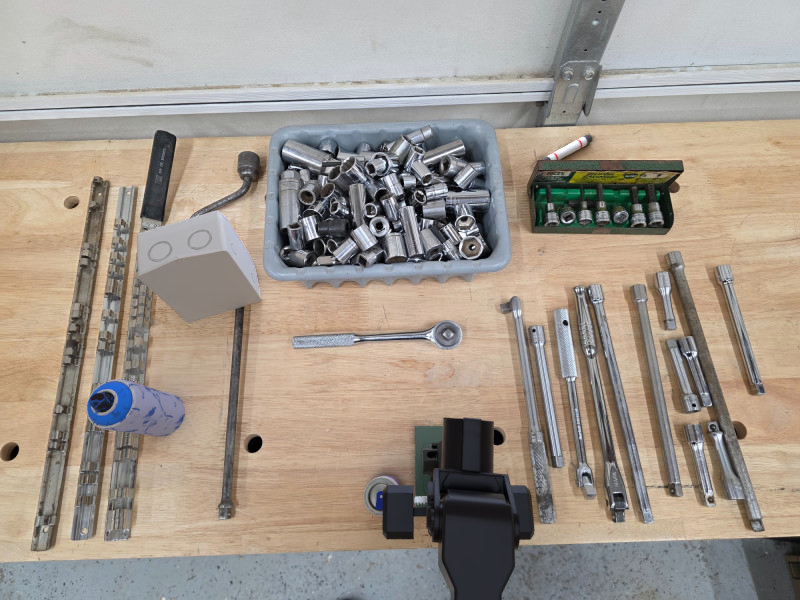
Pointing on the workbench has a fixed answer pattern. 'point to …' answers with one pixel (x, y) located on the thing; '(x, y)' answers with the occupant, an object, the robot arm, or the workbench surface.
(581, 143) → the marker
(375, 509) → the beverage can
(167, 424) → the aerosol can
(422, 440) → the press block
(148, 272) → the electrical switch box
